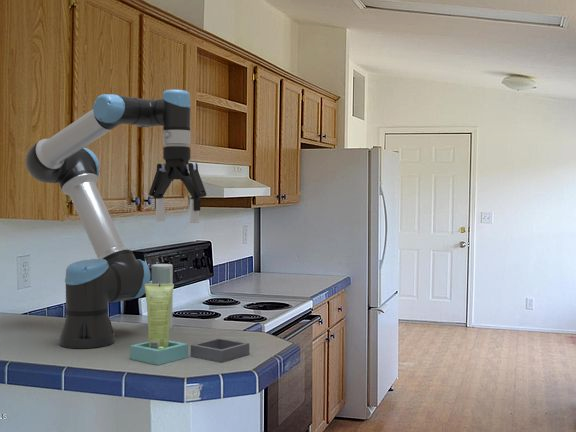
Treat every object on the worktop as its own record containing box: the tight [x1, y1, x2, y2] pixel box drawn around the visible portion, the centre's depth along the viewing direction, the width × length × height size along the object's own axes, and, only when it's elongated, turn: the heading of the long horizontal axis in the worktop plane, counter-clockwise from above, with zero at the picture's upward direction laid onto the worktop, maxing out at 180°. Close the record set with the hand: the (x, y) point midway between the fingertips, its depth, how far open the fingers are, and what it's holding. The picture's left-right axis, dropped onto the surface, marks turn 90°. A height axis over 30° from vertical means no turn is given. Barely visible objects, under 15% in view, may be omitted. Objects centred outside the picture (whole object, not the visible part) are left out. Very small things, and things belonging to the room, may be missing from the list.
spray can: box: [151, 263, 174, 330], centre depth 226 cm, size 6×6×20 cm
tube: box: [145, 283, 175, 349], centre depth 187 cm, size 6×5×20 cm
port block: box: [129, 340, 189, 366], centre depth 187 cm, size 10×10×4 cm
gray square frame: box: [190, 337, 250, 363], centre depth 190 cm, size 11×11×3 cm
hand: (177, 222), depth 201 cm, fingers open, 13 cm apart
